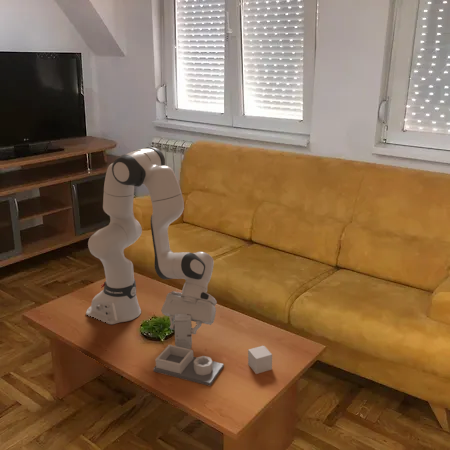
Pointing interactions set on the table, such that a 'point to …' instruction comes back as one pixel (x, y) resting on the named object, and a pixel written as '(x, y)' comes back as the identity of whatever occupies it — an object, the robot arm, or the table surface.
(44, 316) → the table surface
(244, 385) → the table surface
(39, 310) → the table surface
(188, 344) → the skincare box
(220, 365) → the socket holder
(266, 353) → the light grey cube
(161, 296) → the table surface
